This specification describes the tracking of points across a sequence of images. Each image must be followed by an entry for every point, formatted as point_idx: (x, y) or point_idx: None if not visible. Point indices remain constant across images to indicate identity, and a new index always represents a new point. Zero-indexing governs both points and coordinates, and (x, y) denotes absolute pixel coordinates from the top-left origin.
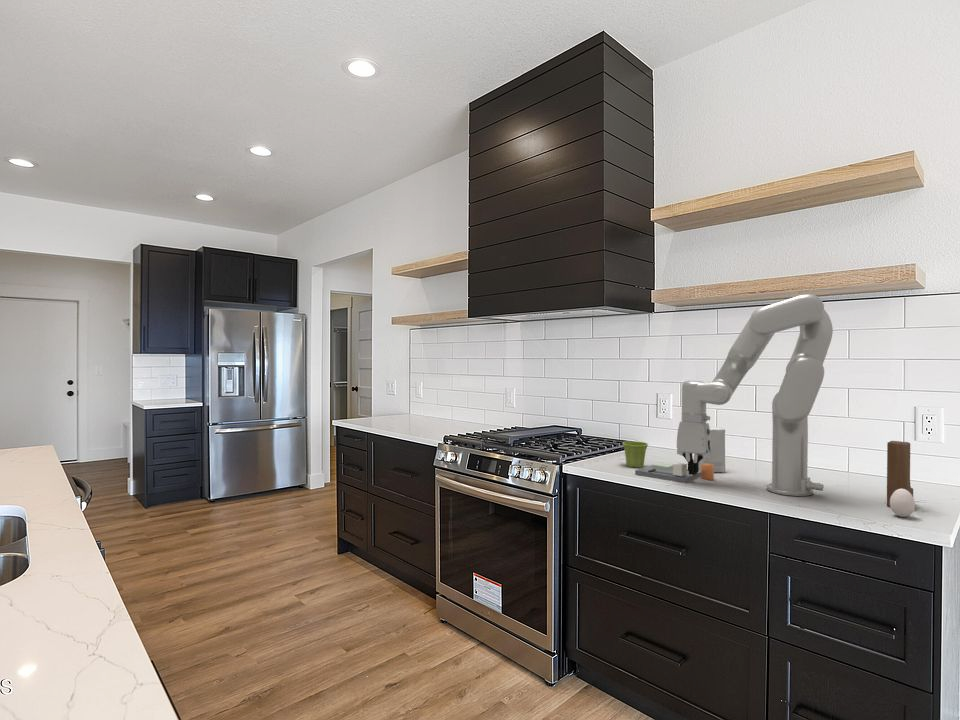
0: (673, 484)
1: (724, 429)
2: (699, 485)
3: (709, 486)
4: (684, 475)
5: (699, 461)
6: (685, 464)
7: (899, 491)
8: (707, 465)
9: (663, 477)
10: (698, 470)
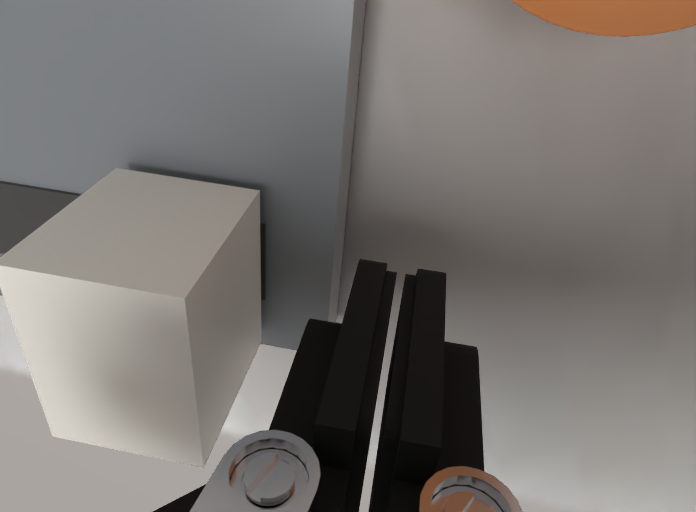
0: (267, 415)
1: None
2: (512, 352)
3: (637, 348)
4: None
5: (506, 509)
6: (192, 351)
7: None
8: (684, 26)
9: None
10: (477, 353)
